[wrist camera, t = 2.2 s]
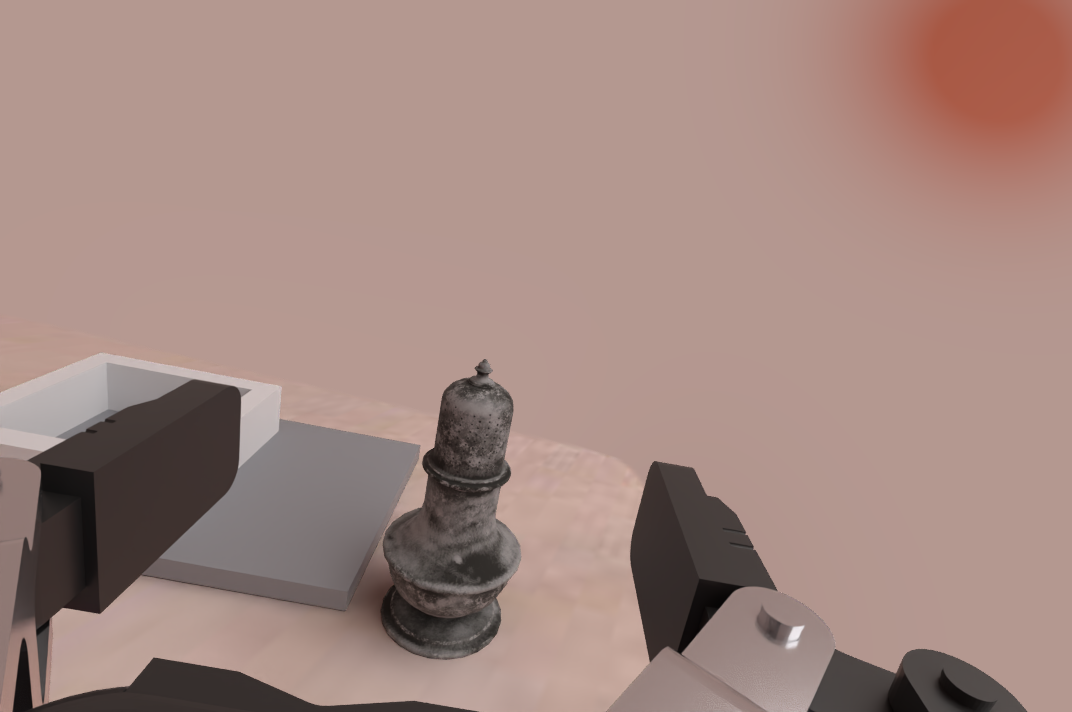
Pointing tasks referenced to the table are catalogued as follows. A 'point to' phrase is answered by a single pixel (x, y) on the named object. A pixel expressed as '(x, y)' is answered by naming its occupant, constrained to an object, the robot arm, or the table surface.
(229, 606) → the table surface
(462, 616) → the salt shaker
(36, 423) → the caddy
